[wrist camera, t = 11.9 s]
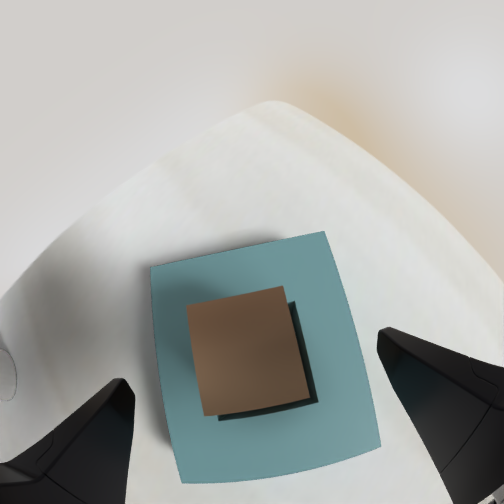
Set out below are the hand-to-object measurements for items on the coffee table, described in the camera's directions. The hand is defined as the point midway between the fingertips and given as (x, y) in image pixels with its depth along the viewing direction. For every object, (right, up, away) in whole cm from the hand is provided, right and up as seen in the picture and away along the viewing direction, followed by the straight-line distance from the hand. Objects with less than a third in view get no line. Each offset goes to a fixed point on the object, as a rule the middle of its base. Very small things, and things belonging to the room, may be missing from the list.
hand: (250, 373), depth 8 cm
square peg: (+1, -4, +9) cm, 10 cm away
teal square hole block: (+1, -4, +9) cm, 10 cm away
